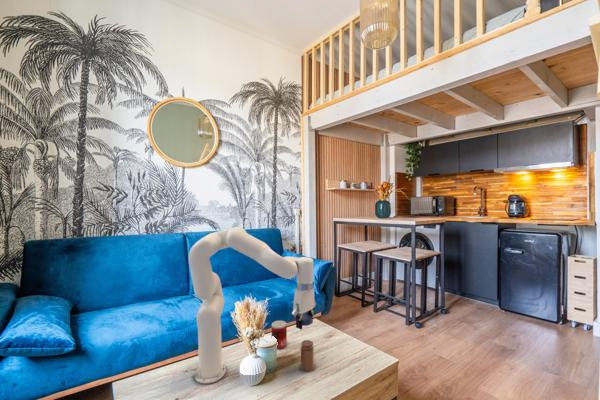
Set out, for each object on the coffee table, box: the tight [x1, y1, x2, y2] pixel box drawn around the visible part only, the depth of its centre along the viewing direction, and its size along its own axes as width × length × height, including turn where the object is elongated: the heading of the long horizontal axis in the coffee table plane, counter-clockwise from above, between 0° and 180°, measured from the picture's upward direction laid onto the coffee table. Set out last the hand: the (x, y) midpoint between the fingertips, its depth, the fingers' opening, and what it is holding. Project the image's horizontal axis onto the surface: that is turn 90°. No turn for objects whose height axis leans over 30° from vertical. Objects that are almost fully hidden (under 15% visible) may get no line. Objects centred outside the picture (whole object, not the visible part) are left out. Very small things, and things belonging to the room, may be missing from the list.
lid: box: [298, 313, 313, 327], centre depth 123 cm, size 7×7×2 cm
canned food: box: [271, 320, 288, 350], centre depth 142 cm, size 8×8×11 cm
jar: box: [300, 339, 315, 372], centre depth 124 cm, size 6×6×11 cm
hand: (304, 325), depth 124 cm, fingers closed on lid, 6 cm apart
